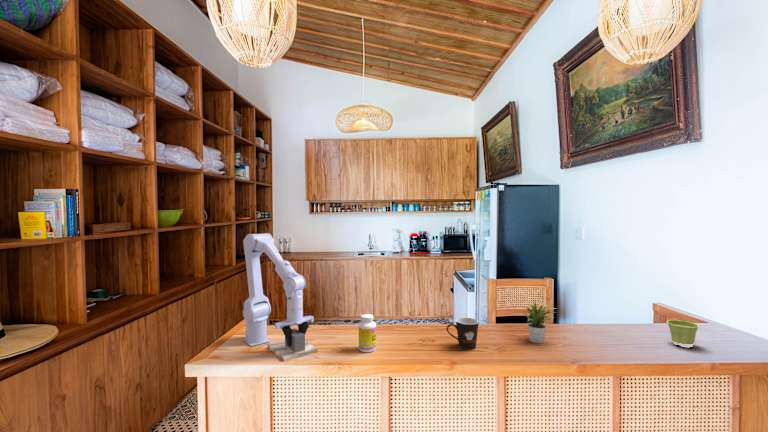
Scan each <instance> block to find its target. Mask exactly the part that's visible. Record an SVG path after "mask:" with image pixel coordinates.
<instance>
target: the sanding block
mask: <svg viewBox="0 0 768 432" xmlns="http://www.w3.org/2000/svg"><path fill="white" fill-rule="evenodd" d="M291 329H292V336H291V346H290V347H289V346H288V345H287V341H286V337H285V336H284V340H285V347H287V348H288V349H289V350H291V351H292V352H293V353H299V352H302V351H305V341H306V333H305V334H303V333H302V332H300V331H298V328H295V327H294V328H291Z"/></svg>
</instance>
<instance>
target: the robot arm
mask: <svg viewBox="0 0 768 432" xmlns="http://www.w3.org/2000/svg"><path fill="white" fill-rule="evenodd" d="M242 243H243V251H244V257H245V258H244V259H245V266H246V267H245V268H246V277H247V278H246V279H247V286H248V287H247V288H248V298H246V299H245V301H244V302H243V310H242V315H243V318H244V320H245V322H246V324H245V337H244V338H243V341H244V342H246V344H247V345H248V346H250V347H253V346H258V345H262V344H266V343H270V342H271V340H270V339H269V338H268V332H267V329H268V323H267V322H268V320H267V319H269V315H270V314H271V312H272V307H271V304H270V300H269V298H268V297H267V296H266V295H265V294H264V289H263V279H262V269H261V261H260V260H261V259H260V257H261V256H262V254H263V253H264V254H266V256H267V257H268V258H269V260H271V262H272V263H273V264H274V265H275V268H274V271H275V272H276V273H277V275H278V276H279V278H280V279H281V280H282V282H283V284H282V286H283V289H284V292H285V297H286V319H284V320H281V321H278V322H275V323H274V329H275V330H280V329H281V331H282V333H283V334H284V338H285V337H286V341H287V345H288V346H289V347H290V346H291V336H292V329H293V328H292V326H297V330H298V331H300V332H302V333H303V334H305V335H306V333H307V331H308V329H309V328H310V327H309V326H310V325H309V323H313V322H315V320H314V319H315V317H314V316H313V315H305V316H304V311H303V309H304V308H303V307H304V306H303V305H304V304H303V303H304V302H303V294H304V293H303V290H304V289H305V288H306V287H307V286H306V285H307V281H306V278H305V277H304V275H302V274H300V273H298V272H296V270H295V269H294V267H293V266H292V264H291V263H290V261H288V260H284V258H283V257H282V255H281V254H280V252H279V251H278V248H277V247H276V245H275V239H274V238H273V236H272V234H271V233H268V232H265V233H248V234H246V236H245V237H244V239H243V240H242Z"/></svg>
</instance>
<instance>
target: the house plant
mask: <svg viewBox="0 0 768 432" xmlns="http://www.w3.org/2000/svg"><path fill="white" fill-rule="evenodd" d="M544 304H545V302H542V303H541V305H540V306H539V308H538V306H537V303H536V300H535V299H534V301H531V304H529V306H530V307H531V308H530V307H528V306H527V305H526V304H524V306H525V309H526V310H527V313H528V314H529V315H528V314H526V313H523V312H522V313H521V315H522V316H525V317H526V318H527V322H526V323H527V324H526V326H527V330H528V337H529V341H530V342H531V343H535V344H543V343H544V341H545V337H546V336H545V335H546V331H547V326H546V325H545V324H543V323H544V322H546V323H548V324H550V321H549V320H552V321H553V320H554V319H553V318H552V316H548V314H554V313H555V314H556V313H558V312H557V311H554V309H557V307H555V308H554V307H553V308H548V309H547V307H549V305H550V303H549V304H546V305H544Z"/></svg>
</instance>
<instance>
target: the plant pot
mask: <svg viewBox="0 0 768 432" xmlns="http://www.w3.org/2000/svg"><path fill="white" fill-rule="evenodd" d="M666 323H667V324H668V327H669V332H670V336H671V342H672V341H674V342H677V343H682V344H693V343H694V344H695V340H696V334H697V331H698V328H700V325H699V324H697V323H694V322H691V321H686V320H679V319H668V320H666Z"/></svg>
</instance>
